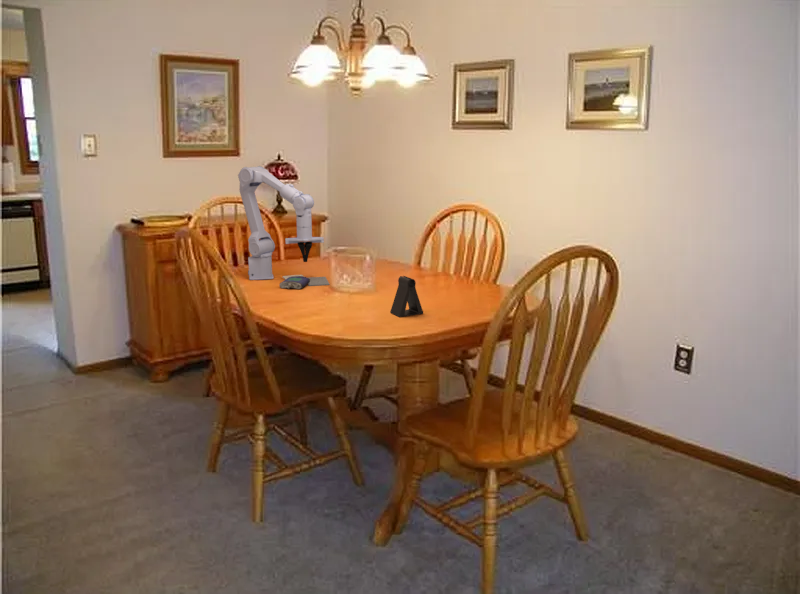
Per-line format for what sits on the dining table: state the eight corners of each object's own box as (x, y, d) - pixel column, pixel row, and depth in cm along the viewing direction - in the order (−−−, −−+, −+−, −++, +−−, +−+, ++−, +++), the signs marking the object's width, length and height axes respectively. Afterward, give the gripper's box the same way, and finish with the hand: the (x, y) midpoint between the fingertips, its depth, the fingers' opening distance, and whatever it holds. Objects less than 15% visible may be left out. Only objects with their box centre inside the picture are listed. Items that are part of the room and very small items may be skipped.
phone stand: (413, 309, 228) (414, 274, 225) (423, 313, 223) (423, 277, 220) (390, 313, 223) (390, 277, 221) (399, 317, 218) (399, 280, 216)
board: (308, 286, 262) (308, 285, 262) (305, 278, 275) (305, 277, 275) (329, 285, 264) (329, 284, 263) (325, 277, 277) (325, 276, 277)
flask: (287, 282, 266) (277, 289, 256) (287, 275, 266) (276, 282, 256) (310, 283, 264) (300, 290, 254) (310, 276, 264) (300, 282, 254)
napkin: (285, 280, 272) (285, 279, 272) (282, 277, 277) (282, 276, 277) (305, 278, 275) (305, 277, 275) (301, 275, 280) (301, 274, 280)
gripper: (285, 228, 257) (287, 264, 260) (324, 227, 260) (325, 262, 263) (284, 226, 264) (285, 260, 267) (322, 225, 267) (323, 259, 270)
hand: (305, 261), depth 265 cm, fingers closed
